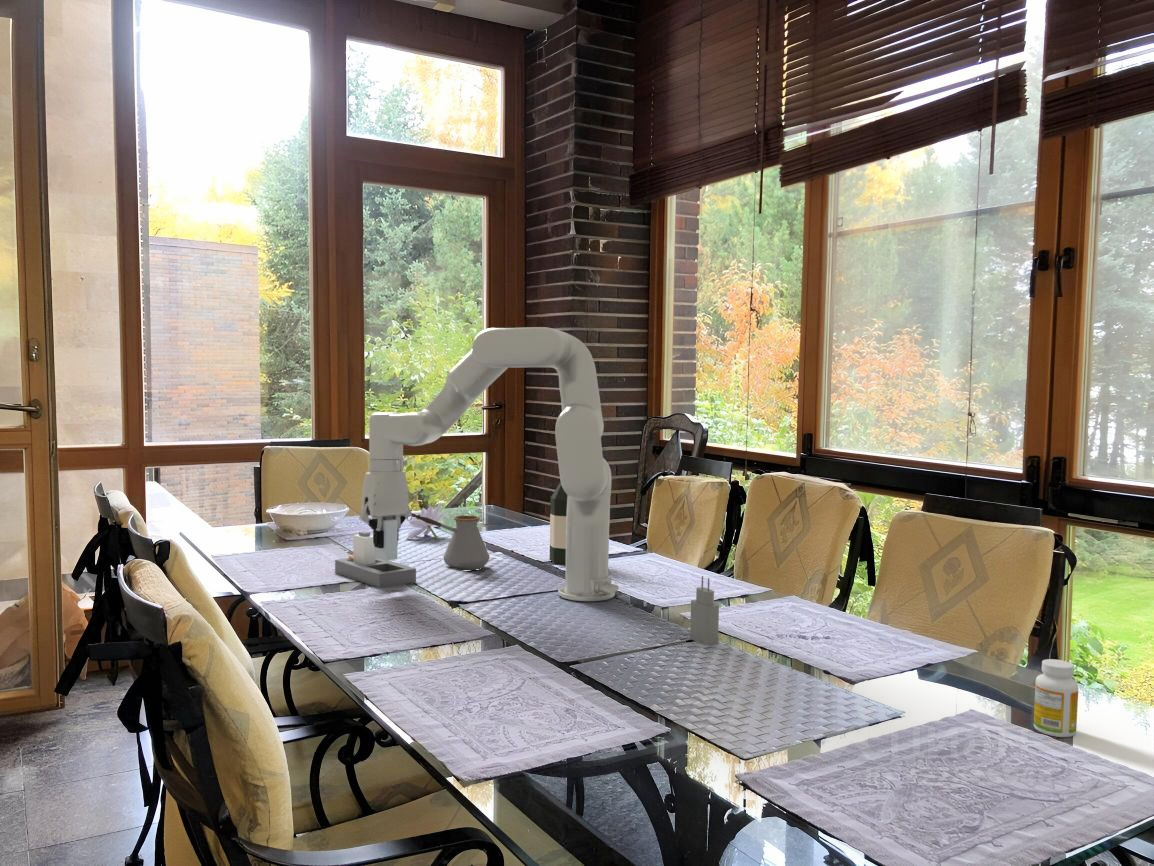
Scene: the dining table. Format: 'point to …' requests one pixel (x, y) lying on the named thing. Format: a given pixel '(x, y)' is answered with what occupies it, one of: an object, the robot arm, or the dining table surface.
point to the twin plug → (363, 548)
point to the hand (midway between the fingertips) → (385, 545)
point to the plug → (388, 539)
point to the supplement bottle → (1056, 699)
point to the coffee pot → (463, 543)
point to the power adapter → (704, 617)
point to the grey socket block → (376, 572)
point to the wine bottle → (558, 525)
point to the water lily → (424, 525)
